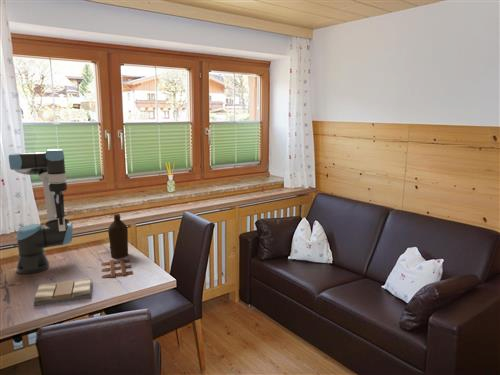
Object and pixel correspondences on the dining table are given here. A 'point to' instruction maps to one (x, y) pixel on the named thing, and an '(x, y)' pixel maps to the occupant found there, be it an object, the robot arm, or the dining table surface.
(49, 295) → the plank
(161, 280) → the dining table surface
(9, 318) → the dining table surface
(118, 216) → the olive oil
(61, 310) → the dining table surface
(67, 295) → the floor board
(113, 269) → the decorative fence
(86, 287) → the plank
